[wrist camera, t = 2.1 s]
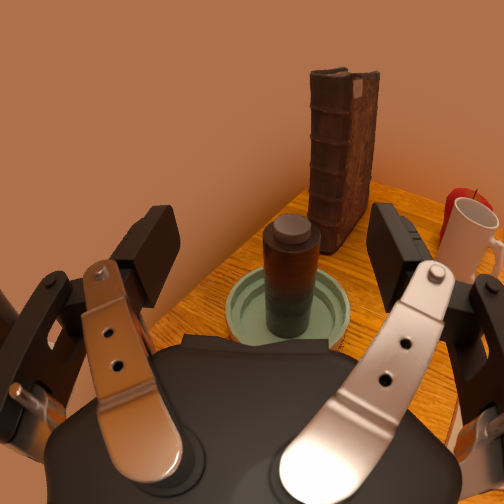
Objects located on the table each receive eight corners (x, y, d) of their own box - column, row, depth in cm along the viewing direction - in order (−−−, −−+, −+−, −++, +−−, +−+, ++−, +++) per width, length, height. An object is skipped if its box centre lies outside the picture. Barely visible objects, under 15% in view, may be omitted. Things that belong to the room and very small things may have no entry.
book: (330, 259, 39) (347, 71, 23) (288, 241, 43) (288, 66, 27) (370, 209, 49) (387, 72, 33) (336, 197, 52) (345, 65, 36)
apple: (482, 258, 37) (506, 199, 29) (458, 273, 35) (487, 207, 27) (450, 230, 43) (468, 172, 36) (424, 240, 41) (443, 177, 34)
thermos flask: (276, 345, 29) (277, 249, 21) (259, 312, 32) (253, 215, 24) (316, 329, 30) (333, 232, 22) (297, 299, 34) (303, 203, 25)
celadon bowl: (253, 394, 25) (251, 380, 23) (215, 301, 35) (211, 281, 33) (365, 345, 28) (373, 327, 26) (310, 271, 38) (312, 251, 36)
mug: (418, 273, 36) (445, 200, 28) (445, 261, 37) (470, 194, 30) (461, 322, 29) (504, 251, 21) (485, 304, 30) (523, 238, 22)
